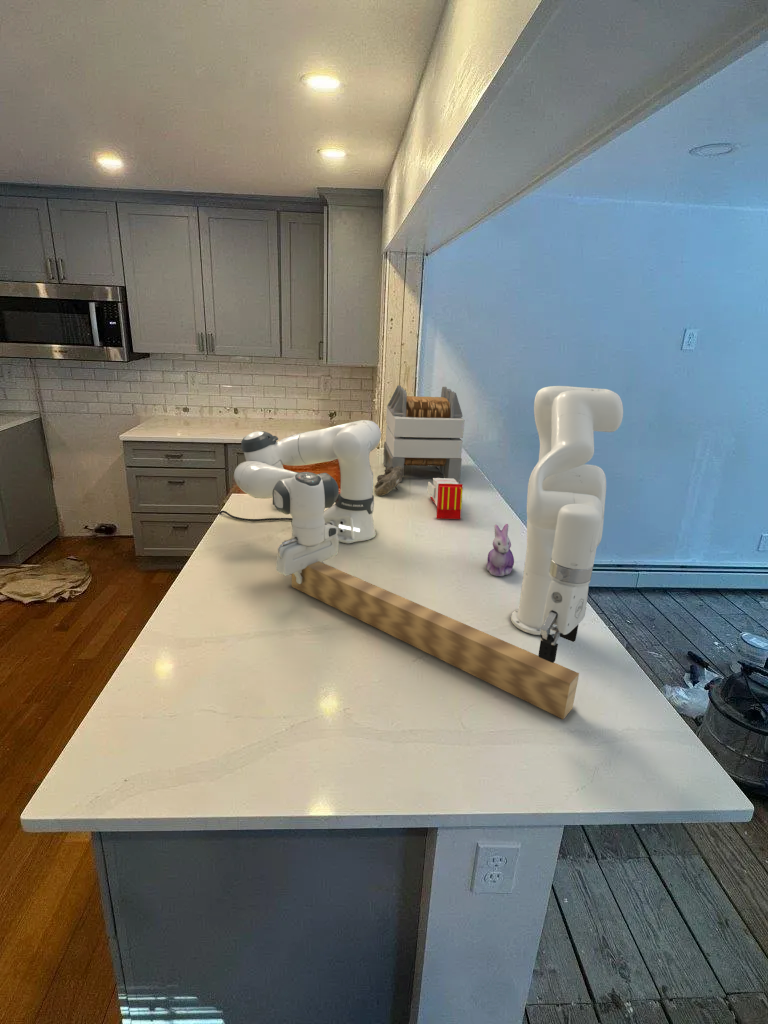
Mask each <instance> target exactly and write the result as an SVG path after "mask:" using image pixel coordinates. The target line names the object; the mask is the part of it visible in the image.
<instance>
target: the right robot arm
mask: <svg viewBox="0 0 768 1024" xmlns="http://www.w3.org/2000/svg"><path fill="white" fill-rule="evenodd" d="M533 414H534V415H533V416H534V422H535V427H536V431H537V435H538V439H539V451H538V461H537V462H536V464H535V466H534V467H533V469H532V471H531V473H530V475H529V479H528V483H527V495H526V496H527V497H526V516H527V519H526V552H525V560H524V567H523V574H522V575H523V576H522V580H521V581H522V583H521V590H520V597H519V603H518V608H517V609H515V610H513V611H512V612H511V615H510V621H511V623H512V624H513V625H514V626H515V627H516V628H517V629H518V630H520V631H522V632H524V633H527V634H531V635H534V636H539V637H540V638H539V640H540V642H539V649H538V654H537V655H538V656H539V657H540V658H542V659H545V660H547V661H549V662H552V663H556V660H557V659H556V658H557V653H558V647H559V643H557V642H558V640H559V637H560V638H562V639H564V640H567V641H569V642H572V643H575V642H576V640H577V637H578V636H577V635H578V629H579V625H580V624H581V623H582V621H583V620H584V619H585V617H586V610H587V603H588V597H589V596H588V595H589V587H590V583H591V582H592V581H591V580H592V575H593V570H594V565H595V559H596V554H597V548H598V547H599V546H600V544H601V542H602V539H603V532H604V520H605V507H606V496H607V477H606V473H605V471H604V470H603V469H602V467H600V466H598V465H595V464H587V463H588V462H590V461H591V460H592V459H593V457H594V454H595V436H594V434H595V433H594V432H599V433H600V432H602V433H614V432H616V431H617V430H618V429H619V428H620V427H621V425H622V422H623V419H624V406H623V401H622V399H621V397H620V395H619V394H618V393H617V392H615V391H613V390H611V389H607V388H597V387H580V386H572V385H571V386H568V385H550V386H545V387H542V388H540V389H539V390H538V391H537V392H536V394H535V397H534V403H533Z"/></svg>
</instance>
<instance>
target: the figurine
mask: <svg viewBox="0 0 768 1024" xmlns="http://www.w3.org/2000/svg"><path fill="white" fill-rule="evenodd" d="M493 527H494V528H493V529H494V538H493V540H492V547H493V548H492V549H491V550H490V551H489V552H488V553H487V562H486V570H487V571H488V572H489V574H490V575H492V576H495V577H504V576H507V575H510V574H511V573H512V571H513V567H514V564H515V559H514V558H515V557H514V554H513V551H512V550H511V547H512V542H511V539H510V537H509V535H508V533H509V527H510V526H509V523H505V524H504V526H503V527H502V529H501V528H500V527H499V525H498V524H494V526H493Z"/></svg>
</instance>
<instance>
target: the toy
mask: <svg viewBox="0 0 768 1024" xmlns="http://www.w3.org/2000/svg"><path fill="white" fill-rule="evenodd" d="M463 485H464V484H463V483H460V482H459V483H458V482H457V481H456V480H455V479H454V478H444V477H432V482H431V481H428V482H427V493H428V494H429V498H430V500H431V501H432V502H433V504H435V506H436V519H437V520H461V518H462V516H461V515H462V507H463V490H464V487H463Z"/></svg>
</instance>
